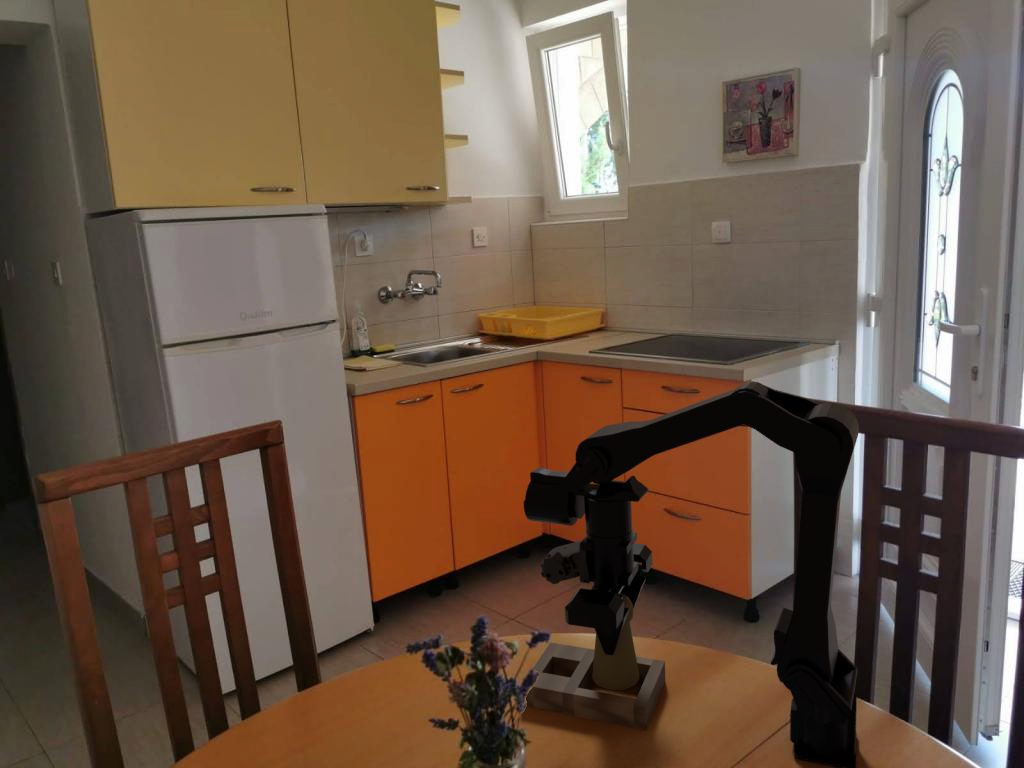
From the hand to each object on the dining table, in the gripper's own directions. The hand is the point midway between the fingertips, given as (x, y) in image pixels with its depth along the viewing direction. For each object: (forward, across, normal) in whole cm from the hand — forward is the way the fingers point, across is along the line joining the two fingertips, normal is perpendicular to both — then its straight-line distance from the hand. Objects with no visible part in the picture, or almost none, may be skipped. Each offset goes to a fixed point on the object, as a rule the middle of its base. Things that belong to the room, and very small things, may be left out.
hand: (614, 644), depth 100 cm
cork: (+5, 0, 0) cm, 5 cm away
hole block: (+8, 0, -3) cm, 8 cm away
